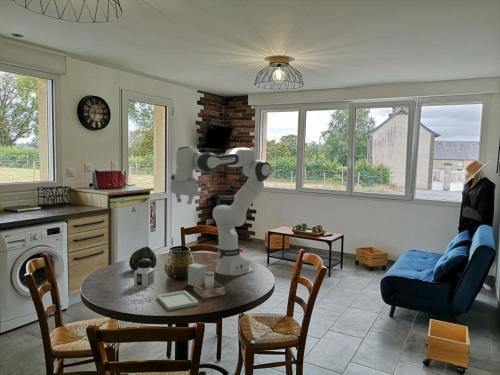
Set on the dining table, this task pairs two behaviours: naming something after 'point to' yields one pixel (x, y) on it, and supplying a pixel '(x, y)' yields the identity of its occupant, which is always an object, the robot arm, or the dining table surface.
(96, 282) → the dining table surface
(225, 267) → the robot arm
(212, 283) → the canister
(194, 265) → the small box
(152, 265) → the squash
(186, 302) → the tray
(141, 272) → the container
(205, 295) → the open wooden frame
